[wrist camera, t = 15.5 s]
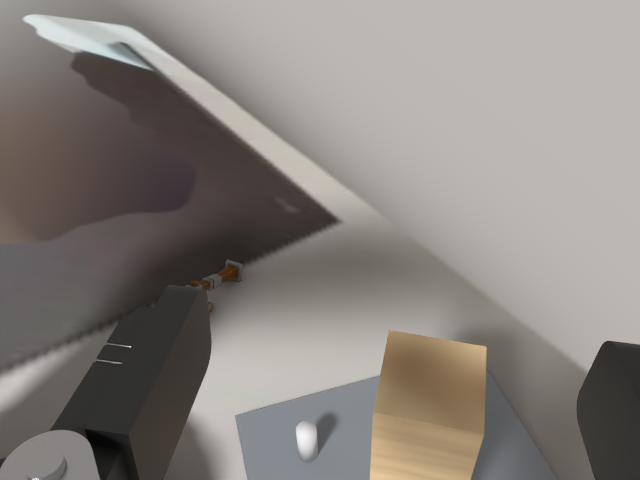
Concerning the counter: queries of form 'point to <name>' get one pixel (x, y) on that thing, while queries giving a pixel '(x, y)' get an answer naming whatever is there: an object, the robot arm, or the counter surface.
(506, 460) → the peg board
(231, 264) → the orange grey jointed piece
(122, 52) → the counter surface
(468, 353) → the oak post
